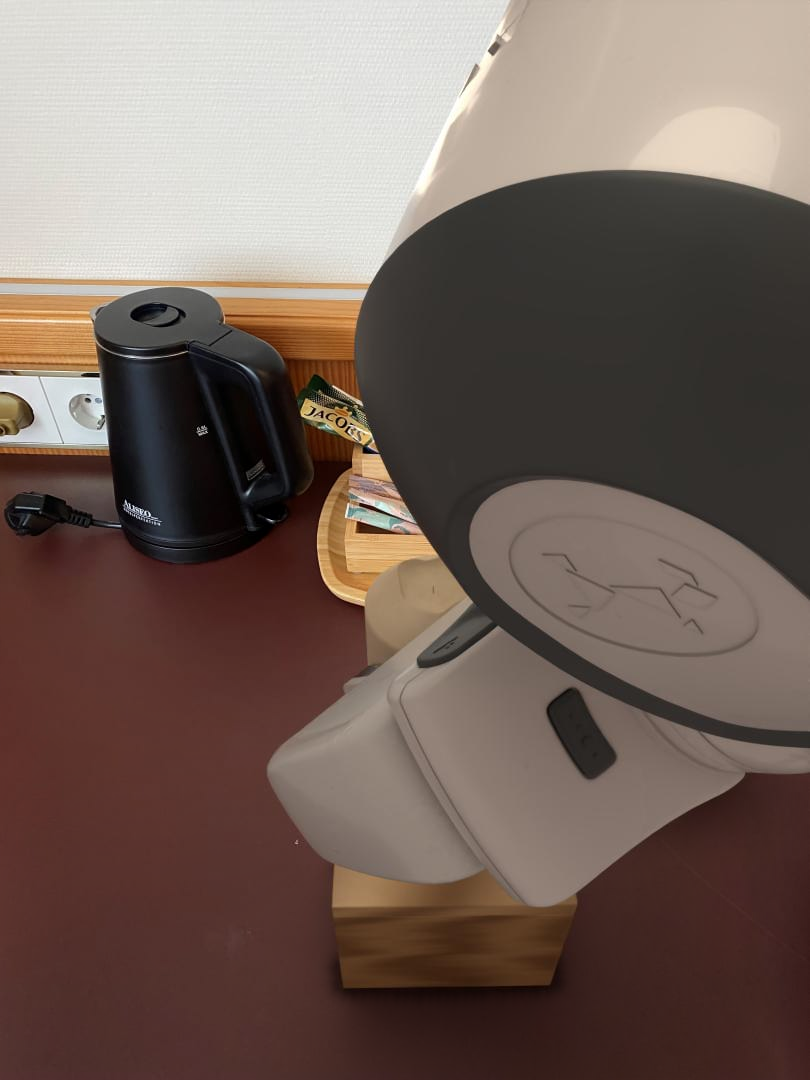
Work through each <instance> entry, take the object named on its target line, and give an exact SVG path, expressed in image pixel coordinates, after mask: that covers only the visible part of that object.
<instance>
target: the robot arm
mask: <svg viewBox="0 0 810 1080" xmlns="http://www.w3.org/2000/svg"><path fill="white" fill-rule="evenodd" d="M359 308H360V309H359V311H358V316H357V320H356V324H355V332H354V340H353V357H354V358H353V361H354V371H355V377H356V382H357V387H358V392H359V396H360V400H361V404H362V408H363V412H364V415H365V419H366V422H367V426H368V428H369V432H370V434H371V436H372V439H373V443H374V445H375V447H376V450H377V453H378V455H379V457H380V459H381V461H382V463H383V466H384V468H385V470H386V472H387V474H388V476H389V478H390V480H391V482H392V484H393V485H394V487H395V489H396V491H397V493H398V495H399V497H400V498H401V500H402V502H403V504H404V505H405V507H406V508H407V511H408V513H409V514H410V516H411V518H412V519H413V520H414V522H415V523H416V525H417V527H418V528H419V530H420V531H421V533H422V534H423V536H424V537H425V539H426V540H427V541H428V543H429V545H430V546H431V547H432V549H433V550H434V552H435V553H436V555H437V556H439V557H440V559H441V560H442V561H443V563H444V564H445V565H446V567H447V568H448V569H449V571H450V572H451V574H452V575H453V576H454V578H455V579H456V580H457V582H458V583H459V585H460V586H461V587H462V589H463V590H464V591H465V593H466V594H467V595H468V596H467V597H466V598H465V599H463V600H462V601H461V602H460V603H458V604H457V605H456V606H455V607H453V608H452V609H451V610H450V611H448V612H447V613H446V614H445V615H443V616H442V617H441V618H440V619H438V620H437V621H436V622H435V623H433V624H432V625H431V626H430V627H428V628H427V629H426V630H425V631H423V632H422V633H421V634H420V635H418V636H417V637H416V638H415V639H413V640H412V641H411V642H410V643H409V644H407V645H406V646H405V647H404V648H402V649H401V650H400V651H399V652H397V653H396V654H395V655H394V656H392V657H391V658H390V659H389V660H387V661H386V662H385V663H381V664H376V665H373V664H372V665H369V666H368V665H367V666H366V667H365V668H364V669H362V670H361V671H360V672H359V673H357V674H356V675H355V676H353V677H352V678H351V679H350V680H348V681H346V682H345V683H344V684H343V686H342V689H343V690H342V691H343V693H344V694H343V696H341V697H340V698H338V699H337V700H336V701H335V702H334V703H332V704H331V705H330V706H329V707H327V708H326V709H325V710H324V711H323V712H321V713H320V714H319V715H318V716H316V717H315V718H314V719H312V720H311V721H310V722H309V723H308V724H306V725H304V727H303V728H301V729H300V730H299V731H297V732H296V733H295V734H293V735H292V736H291V737H289V738H288V739H287V740H286V741H285V742H283V743H282V744H281V745H279V747H278V748H277V749H276V750H275V751H274V753H273V754H272V756H271V758H270V759H269V761H268V763H267V766H266V776H267V780H268V782H269V785H270V787H271V789H272V790H273V792H274V794H275V796H276V797H277V799H278V801H279V802H280V804H281V806H282V808H283V809H284V810H285V812H286V814H287V815H288V817H289V818H290V820H291V822H292V823H293V824H294V825H295V827H296V829H297V830H298V831H299V832H300V834H301V836H302V837H303V838H304V840H305V841H306V842H307V844H308V845H309V846H310V848H312V850H313V851H314V852H315V854H317V855H318V856H320V857H321V858H322V859H324V860H325V861H327V862H329V863H331V864H333V865H334V864H336V865H338V866H341V867H344V868H347V869H350V870H353V871H356V872H360V873H364V874H367V875H371V876H376V877H380V878H385V879H389V880H395V881H401V882H407V883H414V884H443V883H451V882H455V881H459V880H462V879H465V878H468V877H471V876H473V875H475V874H477V873H480V872H482V871H484V870H486V869H487V870H488V872H489V873H490V874H491V875H492V876H493V878H494V879H495V880H496V881H497V883H498V884H499V885H500V886H501V887H502V889H503V890H504V891H505V892H506V893H507V894H508V896H509V897H511V898H512V899H513V900H515V901H517V902H519V903H522V904H525V905H528V906H532V907H549V906H553V905H556V904H558V903H561V902H563V901H565V900H566V899H568V898H569V897H571V896H572V895H574V894H575V893H576V894H577V893H578V892H579V891H581V890H583V888H584V887H586V886H587V885H589V883H591V882H592V881H593V880H595V879H596V878H597V877H598V876H599V875H601V874H602V873H603V872H604V871H606V870H607V869H608V868H609V867H610V866H611V865H613V864H615V862H617V861H618V860H619V859H621V858H622V857H623V856H625V855H626V854H627V853H628V852H630V851H631V850H632V849H634V848H635V847H636V846H638V845H639V844H640V843H642V842H643V841H644V840H646V839H647V838H648V837H650V836H652V835H653V834H654V833H656V832H657V831H659V830H660V829H662V828H664V827H665V826H666V825H668V824H669V823H671V822H672V821H674V820H675V819H678V818H679V817H681V816H682V815H684V814H686V813H687V812H689V811H691V810H692V809H695V808H696V807H698V806H701V805H702V804H704V803H706V802H708V801H710V800H712V799H715V798H717V797H719V796H720V795H722V794H724V793H727V791H730V789H732V788H734V787H735V786H736V785H737V784H739V783H740V782H741V781H742V780H743V779H744V777H745V776H746V773H753V774H770V775H797V774H799V775H800V774H809V773H810V0H509V3H508V5H507V7H506V9H505V11H504V13H503V16H502V17H501V19H500V22H499V24H498V26H497V28H496V30H495V32H494V34H493V36H492V39H491V41H490V42H489V45H488V46H487V49H486V51H485V53H484V56H483V57H482V60H481V61H480V62H479V63H476V62H475V63H474V65H473V66H472V69H471V71H470V72H469V74H468V76H467V78H466V80H465V82H464V84H463V86H462V88H461V89H460V92H459V94H458V96H457V98H456V100H455V102H454V105H453V107H452V109H451V111H450V113H449V115H448V118H447V119H446V122H445V123H444V125H443V127H442V130H441V132H440V134H439V136H438V138H437V141H436V142H435V144H434V146H433V149H432V150H431V153H430V155H429V157H428V159H427V161H426V163H425V166H424V167H423V170H422V172H421V173H420V176H419V179H418V180H417V183H416V185H415V187H414V190H413V192H412V194H411V197H410V199H409V201H408V203H407V205H406V208H405V209H404V212H403V215H402V217H401V219H400V221H399V223H398V225H397V227H396V229H395V232H394V234H393V236H392V239H391V240H390V243H389V245H388V247H387V250H386V252H385V255H384V257H383V259H382V261H381V265H380V267H379V269H378V270H377V272H376V274H375V276H374V277H373V279H372V281H371V282H370V284H369V286H368V288H367V291H366V292H365V295H364V298H363V299H362V302H361V305H360V307H359Z"/></svg>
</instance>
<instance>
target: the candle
mask: <svg viewBox="0 0 810 1080" xmlns="http://www.w3.org/2000/svg"><path fill="white" fill-rule="evenodd" d="M467 596H468V595H467V594H466V593H465V591H464V590H463V589H462V587H461V586H460V585H459V583H458V582H457V580H456V579H455V578H454V576H453V575H452V574H451V572H450V571H449V569H448V568H447V567H446V565H445V564H444V563H443V561H442V560H441V559H440V557H439V556H438V555H421V556H416V557H412V558H408V559H404V560H402V561H399V562H397V563H395V564H393V565H391V566H390V567H388V568H387V569H385V570H383V571H382V572H381V573H380V574H379V575H378V576H377V577H375V579H374V580H373V581H372V583H371V584H370V586H369V588H368V589H367V591H366V594H365V597H364V598H365V599H364V621H365V625H364V626H365V638H366V639H365V641H366V655H367V658H366V659H367V667H368V666H369V665H372V664H373V665H376V664H381V663H385V662H386V661H387V660H389V659H390V658H391V657H392V656H394V655H395V654H396V653H397V652H399V651H400V650H401V649H402V648H404V647H405V646H406V645H407V644H409V643H410V642H411V641H412V640H413V639H415V638H416V637H417V636H418V635H420V634H421V633H422V632H423V631H425V630H426V629H427V628H428V627H430V626H431V625H432V624H433V623H435V622H436V621H437V620H438V619H440V618H441V617H442V616H443V615H445V614H446V613H447V612H448V611H450V610H451V609H452V608H453V607H455V606H456V605H457V604H458V603H460V602H461V601H462V600H463V599H465V598H466V597H467Z"/></svg>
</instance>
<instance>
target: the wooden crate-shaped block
mask: <svg viewBox="0 0 810 1080" xmlns="http://www.w3.org/2000/svg"><path fill="white" fill-rule="evenodd" d="M577 897H578V896H577V893H575V894H574V895H572V896H571V897H569V898H568V899H566V900H565V901H563V902H561V903H558V904H556V905H553V906H549V907H532V906H528V905H525V904H522V903H519V902H517V901H515V900H513V899H512V898H511V897H509V896H508V894H507V893H506V892H505V891H504V890H503V889H502V887H501V886H500V885H499V884H498V883H497V881H496V880H495V879H494V878H493V876H492V875H491V874H490V873H489V872H488V870H487V869H486V870H484V871H482V872H480V873H477V874H475V875H473V876H471V877H468V878H465V879H462V880H459V881H455V882H451V883H443V884H414V883H407V882H401V881H395V880H389V879H385V878H380V877H376V876H371V875H367V874H364V873H360V872H356V871H353V870H350V869H347V868H344V867H341V866H338V865H336V864H333V874H332V893H331V913H332V921H333V927H334V934H335V940H336V946H337V955H338V961H339V962H338V963H339V967H340V968H339V969H340V975H341V982H342V988H343V989H379V988H380V989H384V988H389V989H391V988H447V987H448V988H452V987H454V988H456V987H459V988H460V987H512V986H513V987H521V986H525V987H526V986H530V987H531V986H550V985H551V984H552V981H553V977H554V975H555V971H556V968H557V966H558V963H559V960H560V957H561V954H562V951H563V949H564V946H565V942H566V939H567V937H568V934H569V931H570V928H571V925H572V922H573V919H574V916H575V912H576V910H577V908H578V904H579V903H578V898H577Z"/></svg>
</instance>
